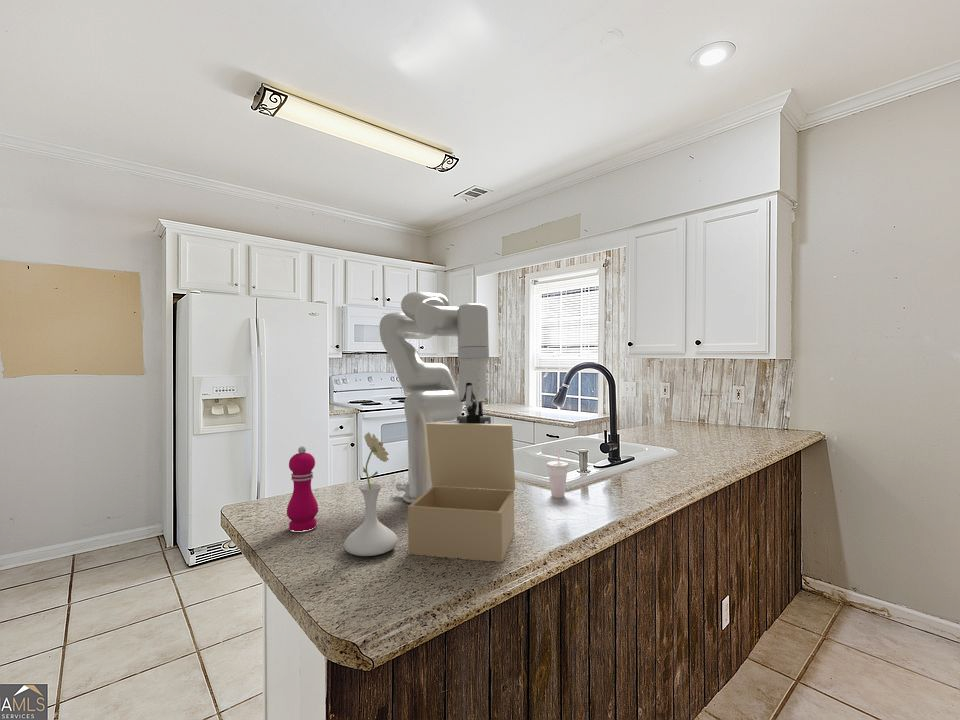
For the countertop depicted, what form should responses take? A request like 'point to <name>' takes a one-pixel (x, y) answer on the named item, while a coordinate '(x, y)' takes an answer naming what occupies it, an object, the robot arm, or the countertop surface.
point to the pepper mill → (302, 492)
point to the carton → (461, 523)
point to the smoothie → (557, 477)
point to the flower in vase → (371, 514)
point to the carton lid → (471, 454)
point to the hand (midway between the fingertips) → (475, 430)
